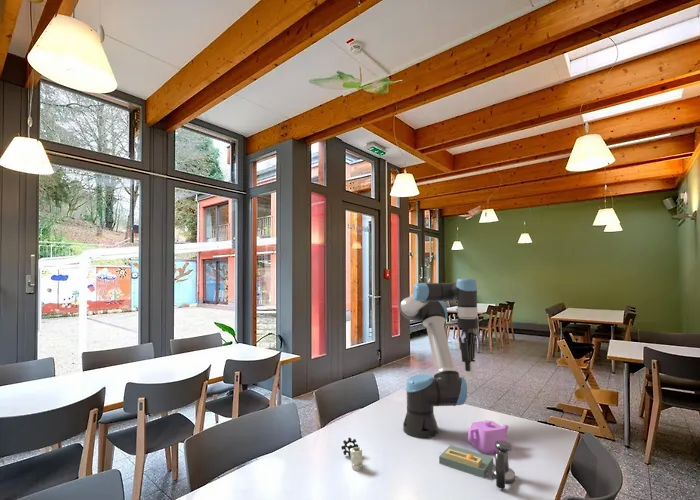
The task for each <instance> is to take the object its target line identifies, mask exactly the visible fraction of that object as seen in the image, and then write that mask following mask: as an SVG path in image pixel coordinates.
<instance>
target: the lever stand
mask: <svg viewBox="0 0 700 500" xmlns="http://www.w3.org/2000/svg"><path fill="white" fill-rule="evenodd" d="M438 459H439V460H438V463H439V465H442V466H445V467H449V468H452V469H454V470H458V471H462V472H464V473H468V474H471V475H472V476H477V477H480V478H483V479H485V478H486V476H487V475H488V473H490V470H491V469H492V468H493V467H494V457H493V456H490V455H488V454H482V453H481V452H476V451H472V450H469V449H465V448H462V447H458V446H455V445H451V444H450V445H449V446H448V447H447V448H445V450H444V451H443V452H442V453H441V454H440V455H439V456H438Z"/></svg>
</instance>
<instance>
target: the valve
mask: <svg viewBox="0 0 700 500" xmlns="http://www.w3.org/2000/svg"><path fill="white" fill-rule="evenodd" d="M342 443H343V444H344V445H341V447H340V448H341V450H343V455H344V456H345V455H347V454H348V456H349V457H350V462H351V469H352V471H356V472H359V471H361V470H363V460H364V457H363V449H362V448H361V447H359V445H358V444H357V439H355V438H354V439H353V440H352V438H351V437H348V438H347V440H346V439H345V440H343V442H342ZM351 443H352V444H353V445H352V444H351Z"/></svg>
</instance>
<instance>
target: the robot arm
mask: <svg viewBox="0 0 700 500" xmlns="http://www.w3.org/2000/svg"><path fill="white" fill-rule="evenodd" d="M446 302H456V304H457V306H456V310H455V311H457V317H458V318H457V327H458V328H459V329H461V334H460V337H459V339H458V340H459V343H460V351H461V353H460V354H461V362H463V363H464V377H460V373H459V371H458V370H456V369H455V368H454V362H453V359H452V354H451V350H450V346H449V342H448V338H447V334H446V330H445V325H444V324H445V323H446V320H447V319H448V308H447V305H446ZM399 311H400V314H401V315H402V316H403V317H404V318H405V319H407V320H409V321H413V322H414V321H415V322H417V321H418V322H420V321H421V322H422V323H421V324H422V326H423V327H425V328H426V332H427V336H428V340H429V345H430V351H431V355H432V361H433V365H434V370H435V373H433V376H432V375H431V374H427V373H426V374H424V373H421V374H415V375H412V376H410V377H409V378H407V380H406V389H405V391H406V414H405V417H404V420H403V424H402V425H403V427H402V429H403V430H402V431H403V433H405V434H407V435H408V436H411V437H414V438H419V439H420V438H422V439H425V438H432V437H435V436H437V435H438V432H439V426H438V423H437V421H436V417H435V413H434V407H456V406H462V405H464V404H466V401H467V398H468V384H467V382H466V381H467V380H468V381H473V380H474V365H473V363H475V362H476V360H475V359H476V358H475V356H476V355H475V354H476V338H477V334H476V333H475V329H478V327H479V323H478V321H479V320H478V287H477V280H476V279H475V278H457V279H456V282H440V283H439V282H419V283H415V284H414V285H413V287H412V294H411V295H410V296H408V297H405V298H403V299H402V301H401V302H400V303H399Z"/></svg>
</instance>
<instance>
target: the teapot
mask: <svg viewBox="0 0 700 500" xmlns="http://www.w3.org/2000/svg"><path fill="white" fill-rule="evenodd" d="M508 429H509V426H508V425H507V424H503V426H501V425H500V424H498V423H496V422H495V421H493V420H487V419H486V420H483V421H476V422H472V423H471V425H470V427H469V428H468V429H467V440H468V441H469V442H470V445H471V446H472V447H473V448H474V449H475V450H477V451H478V453H480V454H483V455H495V452H499V450H498V449H497V448H496V447H495V442H496V441H506V442H508V439H507V438H508V437H507V432H508Z"/></svg>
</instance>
